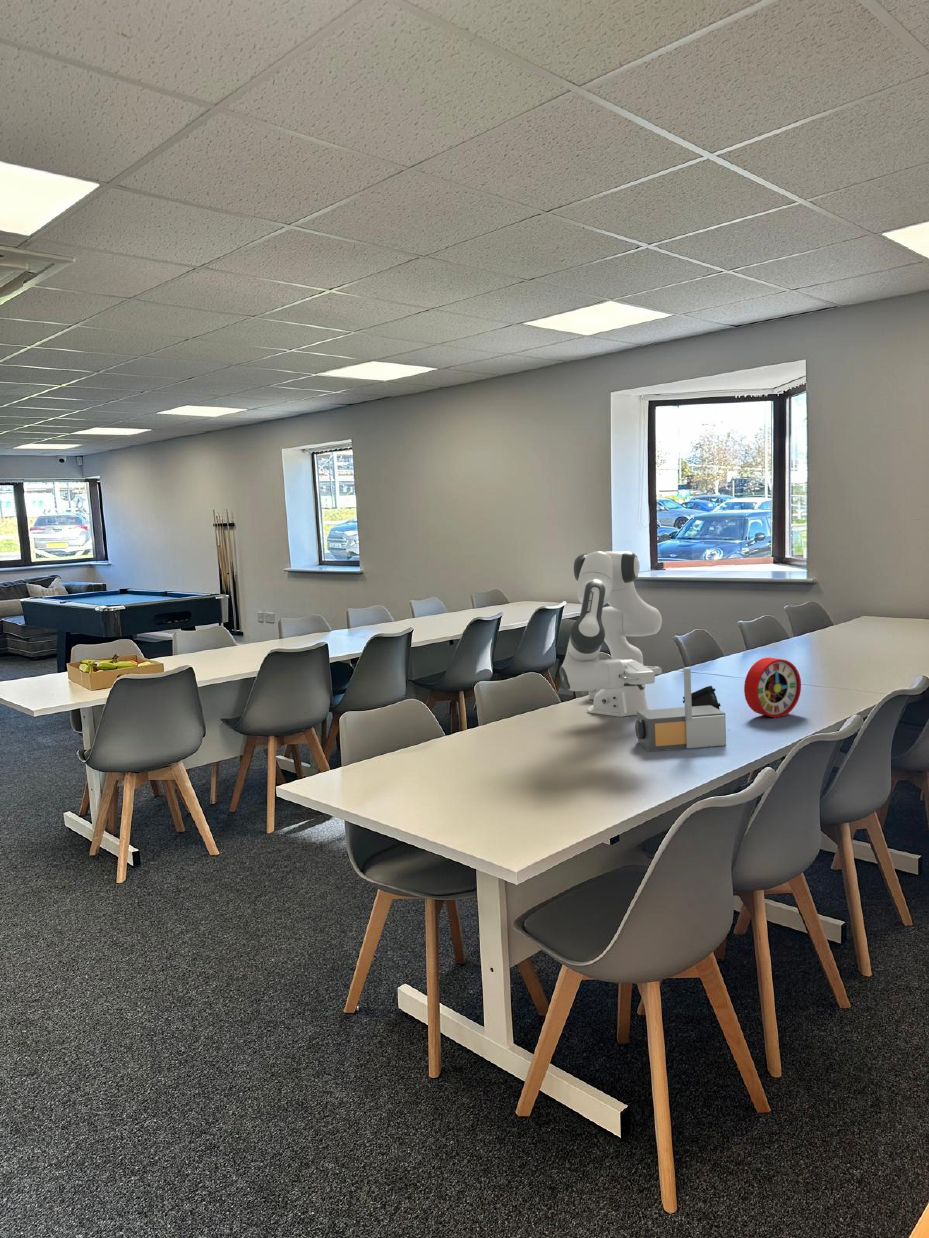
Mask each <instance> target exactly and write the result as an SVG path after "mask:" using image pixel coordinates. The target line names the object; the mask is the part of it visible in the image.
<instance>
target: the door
mask: <svg viewBox="0 0 929 1238" xmlns="http://www.w3.org/2000/svg"><path fill="white" fill-rule="evenodd" d="M691 676H692V675H691V667H683V688H684V689H683V690H684V691H683V693H684V694H683V695H684V696H683V697H684V698H685V703H684V707H685V722H686V749H695V748H697V747H698V748H708V747H709V746H710V747H718V746H719V747H720V746H721V745H722V746H727V737H726V738H725V725H726V714H725V715H716V716H704V717H692V702H691V693H692V678H691Z"/></svg>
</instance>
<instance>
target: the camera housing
mask: <svg viewBox="0 0 929 1238" xmlns="http://www.w3.org/2000/svg"><path fill="white" fill-rule="evenodd" d="M719 709H720V708H719ZM719 709H717V708H715V707H713V706H711V705H706V706H693V707H692V717H704V716H716V715H725V716H726V712H724V711H722V710H721V709H720V710H719ZM726 726H727V725H726V724H725V738H726V739H727V736H726V735H727V732H726V731H727V730H726ZM634 730H635V731H634V732H635V735H636V738H637V742H638V744H640V745H641V746H642V747H643V748H645V749H646V750H647V749H648V750H649V751H648V750H647V751H648V752H656V751H655V750H661V751H667V750H666V749H673V750H683V749H687V748H686V722H685V706H681V707H671V708H660V709H659V708H657V709H649V710H642V711H637V715H636V720H635V724H634ZM721 746H723V745H721ZM697 748H699V747H697Z"/></svg>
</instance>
